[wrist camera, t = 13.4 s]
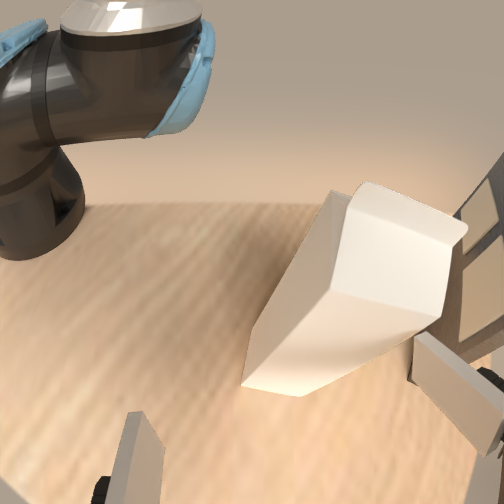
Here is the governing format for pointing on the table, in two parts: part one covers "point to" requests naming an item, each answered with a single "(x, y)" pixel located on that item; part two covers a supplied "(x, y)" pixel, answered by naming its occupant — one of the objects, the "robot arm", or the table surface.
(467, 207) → the label panel
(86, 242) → the table surface
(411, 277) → the milk
